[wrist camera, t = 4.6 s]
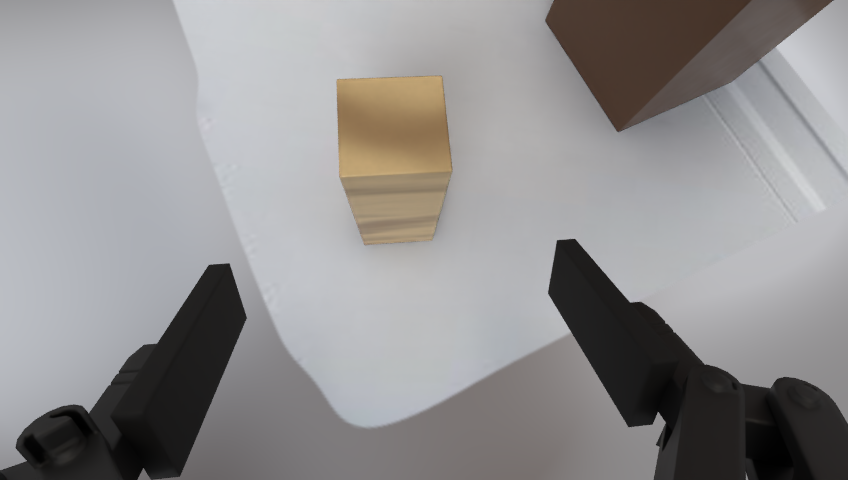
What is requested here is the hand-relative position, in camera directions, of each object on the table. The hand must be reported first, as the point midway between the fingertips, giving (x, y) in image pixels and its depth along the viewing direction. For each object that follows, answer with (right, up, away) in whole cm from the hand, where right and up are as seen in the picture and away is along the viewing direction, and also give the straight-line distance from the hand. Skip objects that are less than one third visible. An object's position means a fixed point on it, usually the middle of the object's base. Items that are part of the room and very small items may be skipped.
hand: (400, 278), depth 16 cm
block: (-1, +4, +13) cm, 14 cm away
